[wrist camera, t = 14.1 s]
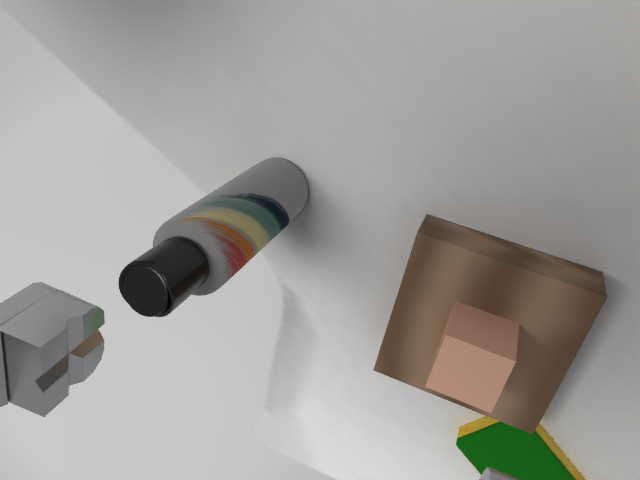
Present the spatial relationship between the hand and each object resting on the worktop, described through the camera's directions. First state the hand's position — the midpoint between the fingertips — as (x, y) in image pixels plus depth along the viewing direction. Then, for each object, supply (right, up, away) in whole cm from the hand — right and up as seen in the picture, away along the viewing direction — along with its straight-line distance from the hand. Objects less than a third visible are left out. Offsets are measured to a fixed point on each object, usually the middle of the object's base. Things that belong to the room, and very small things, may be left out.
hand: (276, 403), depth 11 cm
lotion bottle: (-3, +8, +39) cm, 40 cm away
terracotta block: (+13, -4, +33) cm, 36 cm away
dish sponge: (+21, -18, +42) cm, 50 cm away
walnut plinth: (+15, -3, +37) cm, 40 cm away
